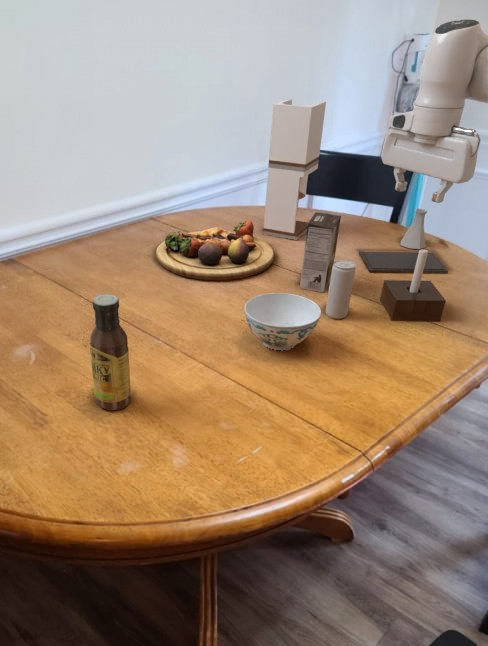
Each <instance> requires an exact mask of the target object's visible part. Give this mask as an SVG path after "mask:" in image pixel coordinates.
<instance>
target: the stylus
mask: <svg viewBox="0 0 488 646" xmlns="http://www.w3.org/2000/svg"><path fill="white" fill-rule="evenodd" d="M418 252H419V254H418V258H417V262H416V266H415V270H414V273H412V274H413V275H412V279H411V281H412V282H411V286H410V290H409V292H410V293H418V290H419V286H420V282H421V281H422V277H423V274H424V273H423V270H424V266H425V262H426V259H427V255H428V252H429V250H427V249H424V248H422V249H418Z"/></svg>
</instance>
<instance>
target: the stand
mask: <svg viewBox="0 0 488 646" xmlns="http://www.w3.org/2000/svg"><path fill="white" fill-rule="evenodd" d="M411 282H412V280H410V279H409V280H404V279H403V280H401V279H398V280H397V279H384V280H383V284H382V288H381V292H380V297H379V301H380V303H381V304H382V306H383V308H384V311H385V312H386V314H387V315H388V317H389V319H390V321H391V322H440V323H441V319H442V317H443V314H444V309H445V306H446V302H447V299H446V298H444V296H443V294H442V293H441V292H440V291H439V290H438V288H437V287H436V285H434V283H433V282H432V281H431V280H421V282H420V286H419V290H418V293H410V292H409V290H410V286H411Z"/></svg>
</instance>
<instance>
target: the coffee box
mask: <svg viewBox="0 0 488 646" xmlns="http://www.w3.org/2000/svg"><path fill="white" fill-rule="evenodd" d="M341 218H342V215H337V214H332V213H327V212H318V211H317V212H316V211H315V212H314V214H313V215H312V216H311V219H310V220H309V221H308V226H307V233H305V235H306V236H305V242H304V243H305V244H304V250H303V257H302V266H301V273H300V274H301V275H300V282H299V289H300V290H307V291H313V292H318V293H319V292H320V293H325V292H326V290H327V288H328V286H329V285H330V279H331V273H332V267H333V265H334V262H335V260H336V259H335V258H336V253H337V252H336V251H337V245H338V238H339V232H340V225H341Z"/></svg>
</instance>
